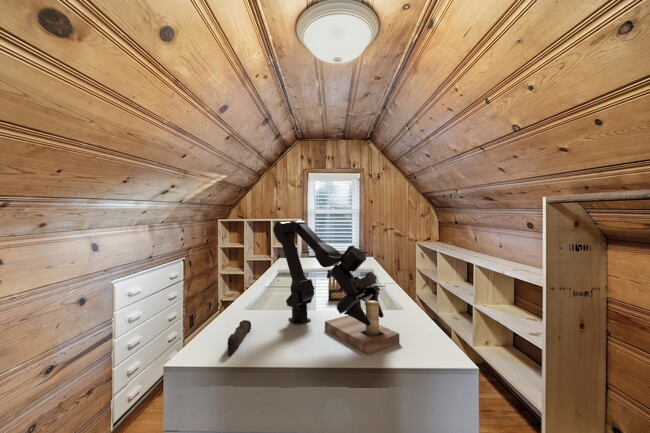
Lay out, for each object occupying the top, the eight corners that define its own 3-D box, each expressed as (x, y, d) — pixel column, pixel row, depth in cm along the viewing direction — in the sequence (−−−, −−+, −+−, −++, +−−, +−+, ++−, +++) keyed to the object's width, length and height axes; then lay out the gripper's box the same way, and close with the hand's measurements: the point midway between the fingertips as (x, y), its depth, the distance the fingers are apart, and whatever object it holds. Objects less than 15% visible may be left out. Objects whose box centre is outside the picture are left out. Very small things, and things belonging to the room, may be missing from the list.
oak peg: (364, 340, 88) (363, 300, 88) (377, 339, 89) (376, 300, 89) (367, 346, 84) (367, 304, 84) (381, 345, 84) (381, 304, 84)
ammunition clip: (328, 301, 131) (327, 275, 132) (328, 299, 133) (328, 274, 133) (350, 300, 131) (350, 275, 131) (350, 299, 133) (350, 274, 133)
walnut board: (324, 329, 97) (324, 321, 97) (353, 321, 104) (353, 313, 104) (368, 355, 78) (367, 344, 78) (399, 343, 86) (399, 333, 86)
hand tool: (240, 331, 97) (239, 317, 97) (251, 330, 97) (251, 317, 97) (219, 358, 78) (218, 341, 78) (233, 358, 78) (232, 341, 78)
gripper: (344, 269, 82) (378, 314, 75) (374, 261, 96) (405, 298, 89) (323, 291, 86) (354, 336, 79) (355, 281, 101) (383, 318, 94)
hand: (376, 320), depth 85 cm, fingers open, 8 cm apart
